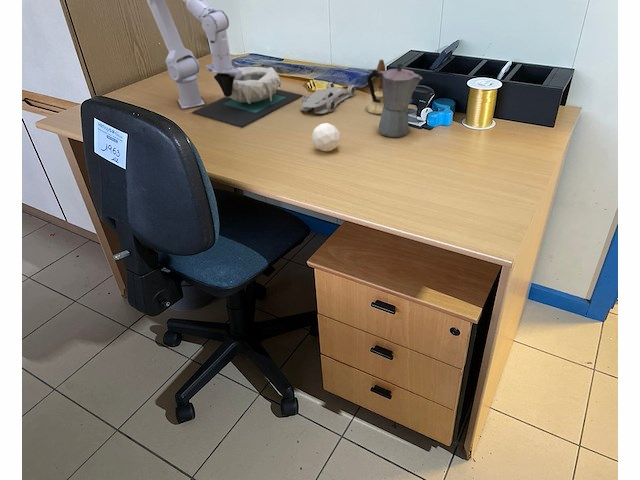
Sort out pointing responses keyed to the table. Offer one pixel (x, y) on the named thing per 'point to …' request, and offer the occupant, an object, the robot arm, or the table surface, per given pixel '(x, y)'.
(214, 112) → the mat
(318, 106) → the car model
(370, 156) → the table surface
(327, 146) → the ball
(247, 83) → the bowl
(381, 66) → the hand bell
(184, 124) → the table surface
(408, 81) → the moka pot
